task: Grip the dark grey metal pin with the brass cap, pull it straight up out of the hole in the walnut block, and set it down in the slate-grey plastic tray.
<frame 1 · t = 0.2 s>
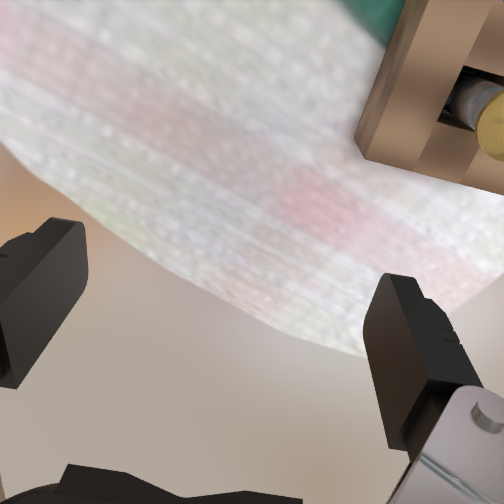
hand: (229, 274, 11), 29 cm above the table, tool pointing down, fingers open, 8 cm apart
pin block: (447, 86, 34), on the table
pin: (447, 86, 34), resting in pin block
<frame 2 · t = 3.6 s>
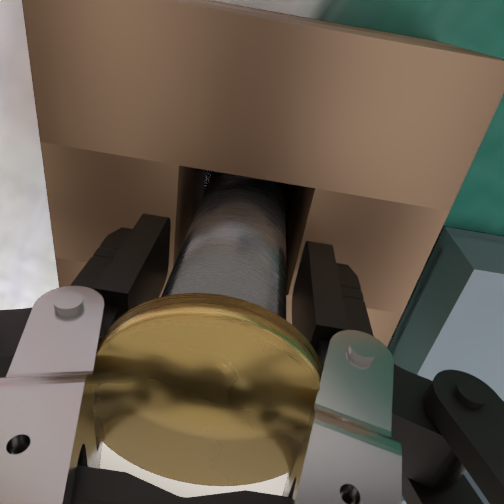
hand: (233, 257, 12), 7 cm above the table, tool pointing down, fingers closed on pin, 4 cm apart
pin block: (251, 168, 18), on the table
pin: (251, 168, 18), resting in pin block, touching gripper
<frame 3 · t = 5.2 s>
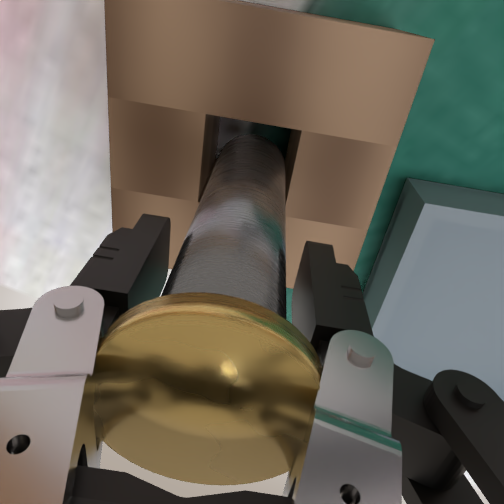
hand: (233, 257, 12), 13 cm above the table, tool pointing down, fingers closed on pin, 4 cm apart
pin block: (254, 130, 23), on the table
pin: (251, 168, 18), point 6 cm above the table, touching gripper
tray: (484, 314, 29), on the table
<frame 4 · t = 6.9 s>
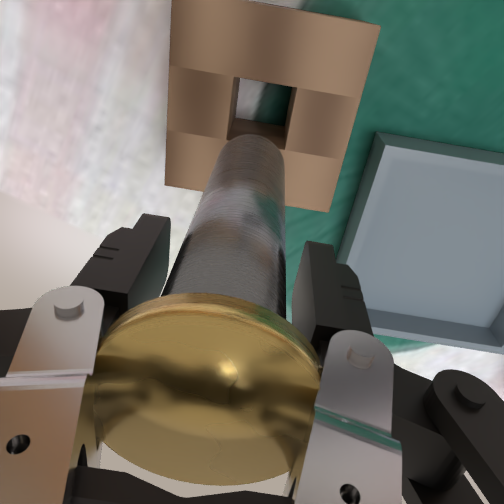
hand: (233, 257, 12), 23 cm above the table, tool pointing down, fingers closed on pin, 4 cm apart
pin block: (264, 95, 31), on the table
pin: (250, 168, 18), point 16 cm above the table, touching gripper
tray: (440, 243, 37), on the table
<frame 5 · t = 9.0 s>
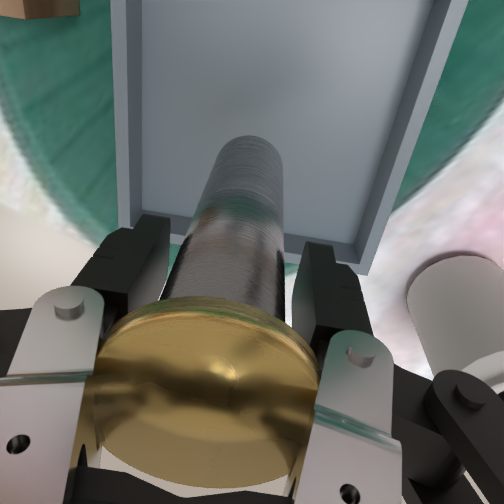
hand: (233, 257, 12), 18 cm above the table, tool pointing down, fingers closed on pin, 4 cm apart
pin: (249, 169, 18), point 10 cm above the table, touching gripper
tray: (266, 115, 27), on the table
can: (451, 287, 33), on the table
when the fingers open (10 cm above the table, at t = 10.6 s): pin drops 1 cm, resting on tray.
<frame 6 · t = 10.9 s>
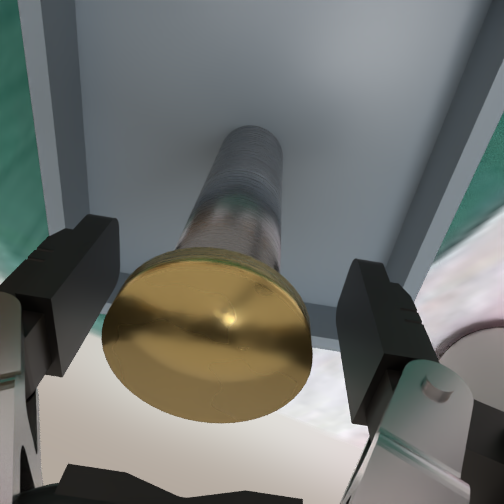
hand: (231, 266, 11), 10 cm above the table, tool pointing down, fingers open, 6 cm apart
pin: (251, 157, 19), point 1 cm above the table, touching tray
tray: (253, 152, 20), on the table
can: (487, 359, 26), on the table
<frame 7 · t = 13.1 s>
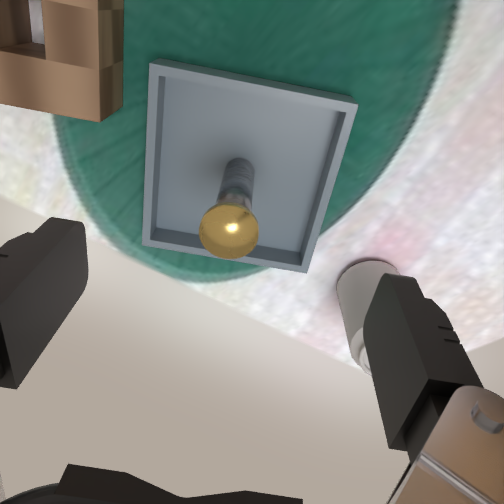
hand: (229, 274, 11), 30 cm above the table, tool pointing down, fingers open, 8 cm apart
pin block: (53, 21, 35), on the table
pin: (239, 172, 41), point 1 cm above the table, touching tray
tray: (241, 169, 41), on the table
can: (367, 281, 48), on the table
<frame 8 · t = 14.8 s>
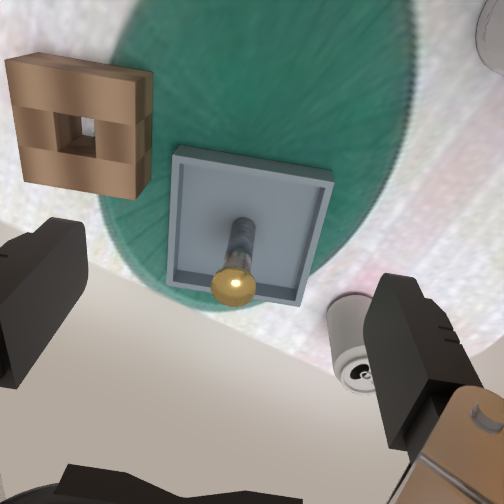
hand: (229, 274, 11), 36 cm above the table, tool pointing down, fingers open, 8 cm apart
pin block: (98, 120, 45), on the table
pin: (243, 227, 50), point 1 cm above the table, touching tray
tray: (245, 224, 51), on the table
can: (352, 311, 58), on the table
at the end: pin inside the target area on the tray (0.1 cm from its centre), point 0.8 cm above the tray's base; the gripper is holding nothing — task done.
